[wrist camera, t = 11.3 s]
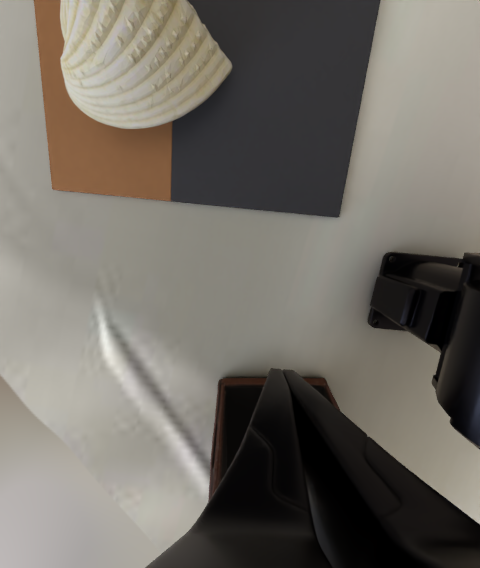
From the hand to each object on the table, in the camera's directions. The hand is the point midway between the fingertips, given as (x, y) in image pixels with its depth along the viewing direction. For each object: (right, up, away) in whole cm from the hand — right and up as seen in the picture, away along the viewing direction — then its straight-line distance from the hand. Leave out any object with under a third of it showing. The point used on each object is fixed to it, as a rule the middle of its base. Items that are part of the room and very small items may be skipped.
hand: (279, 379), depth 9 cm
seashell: (-8, +17, +8) cm, 20 cm away
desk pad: (-4, +16, +8) cm, 19 cm away
